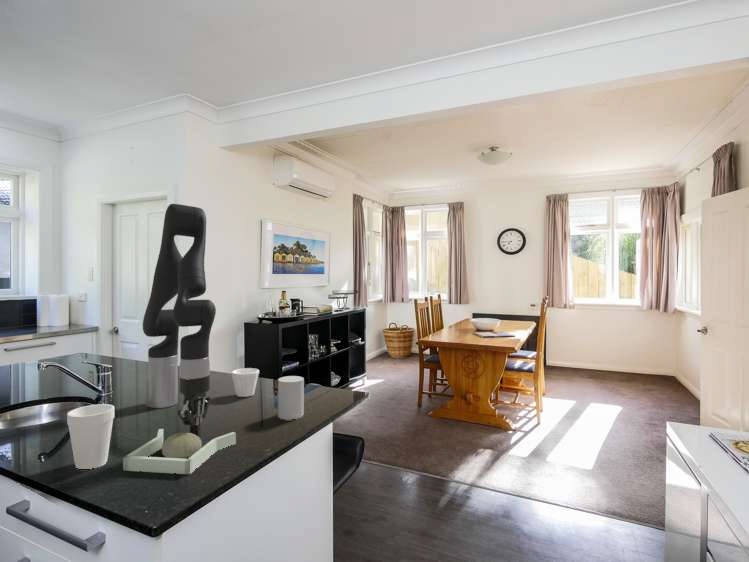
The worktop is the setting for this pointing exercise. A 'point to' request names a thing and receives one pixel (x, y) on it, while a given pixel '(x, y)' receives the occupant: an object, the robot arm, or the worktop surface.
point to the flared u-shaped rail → (173, 465)
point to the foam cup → (90, 434)
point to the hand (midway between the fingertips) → (195, 437)
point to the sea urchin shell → (181, 445)
